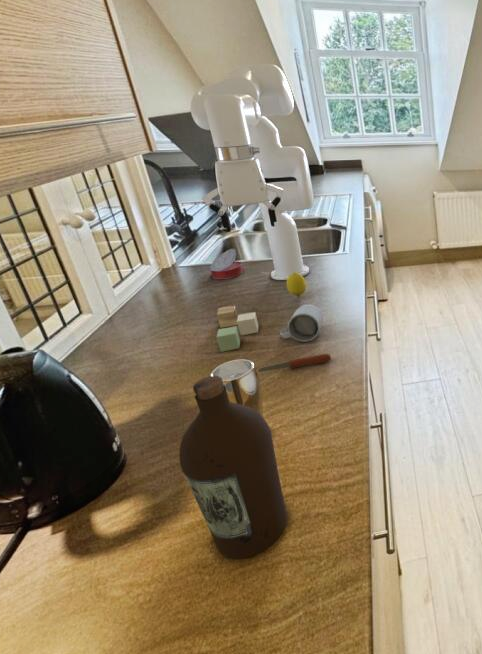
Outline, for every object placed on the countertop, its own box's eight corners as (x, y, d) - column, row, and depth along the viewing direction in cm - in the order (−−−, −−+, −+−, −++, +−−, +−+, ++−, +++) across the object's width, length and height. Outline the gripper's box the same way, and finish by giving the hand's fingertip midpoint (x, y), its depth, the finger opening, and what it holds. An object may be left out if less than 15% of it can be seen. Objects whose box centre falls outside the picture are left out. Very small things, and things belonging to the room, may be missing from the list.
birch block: (222, 321, 126) (218, 308, 124) (238, 318, 127) (235, 305, 125) (220, 328, 122) (216, 314, 121) (237, 325, 124) (233, 311, 122)
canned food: (242, 287, 161) (237, 268, 154) (211, 288, 158) (204, 268, 151) (245, 263, 168) (240, 244, 160) (215, 264, 165) (209, 244, 158)
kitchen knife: (331, 359, 106) (329, 351, 105) (331, 362, 105) (330, 354, 104) (258, 373, 101) (256, 365, 101) (258, 376, 100) (256, 368, 99)
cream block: (241, 328, 122) (238, 314, 120) (258, 325, 123) (255, 311, 121) (240, 335, 118) (236, 321, 116) (257, 332, 119) (254, 318, 118)
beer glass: (225, 440, 82) (203, 370, 76) (263, 421, 86) (245, 353, 80) (239, 460, 77) (217, 387, 71) (279, 439, 81) (261, 368, 75)
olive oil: (241, 494, 70) (198, 357, 60) (305, 502, 69) (271, 361, 59) (193, 559, 61) (133, 407, 51) (266, 569, 59) (218, 414, 49)
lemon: (310, 293, 142) (306, 269, 139) (303, 300, 137) (298, 276, 134) (294, 292, 143) (289, 269, 140) (286, 300, 138) (280, 276, 134)
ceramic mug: (325, 325, 121) (320, 299, 118) (321, 340, 114) (316, 313, 111) (285, 330, 120) (279, 303, 117) (278, 345, 113) (271, 318, 110)
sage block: (222, 344, 114) (218, 329, 113) (240, 340, 116) (236, 326, 114) (220, 352, 111) (216, 337, 109) (239, 348, 112) (235, 333, 110)
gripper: (275, 149, 108) (289, 219, 115) (194, 155, 102) (213, 229, 109) (276, 152, 102) (290, 226, 108) (189, 159, 96) (209, 236, 103)
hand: (251, 227), depth 109 cm, fingers open, 9 cm apart
